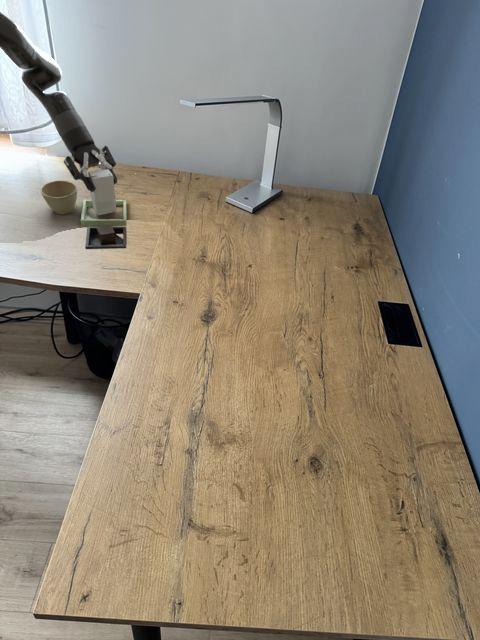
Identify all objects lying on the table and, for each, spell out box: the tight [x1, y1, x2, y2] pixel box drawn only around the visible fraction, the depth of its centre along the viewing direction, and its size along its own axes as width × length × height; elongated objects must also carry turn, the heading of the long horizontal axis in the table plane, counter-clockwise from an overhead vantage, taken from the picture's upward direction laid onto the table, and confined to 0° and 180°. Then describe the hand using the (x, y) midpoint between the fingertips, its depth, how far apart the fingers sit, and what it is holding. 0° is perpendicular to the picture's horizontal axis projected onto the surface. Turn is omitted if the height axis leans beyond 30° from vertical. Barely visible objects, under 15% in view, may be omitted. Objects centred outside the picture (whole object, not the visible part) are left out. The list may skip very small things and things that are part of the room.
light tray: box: [80, 199, 128, 228], centre depth 150 cm, size 13×13×3 cm
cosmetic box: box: [88, 169, 117, 216], centre depth 146 cm, size 6×4×12 cm
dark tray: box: [84, 226, 128, 250], centre depth 140 cm, size 11×11×3 cm
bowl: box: [40, 180, 78, 215], centre depth 149 cm, size 10×10×7 cm
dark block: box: [97, 226, 116, 245], centre depth 139 cm, size 4×4×4 cm
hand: (104, 186), depth 144 cm, fingers closed on cosmetic box, 7 cm apart
